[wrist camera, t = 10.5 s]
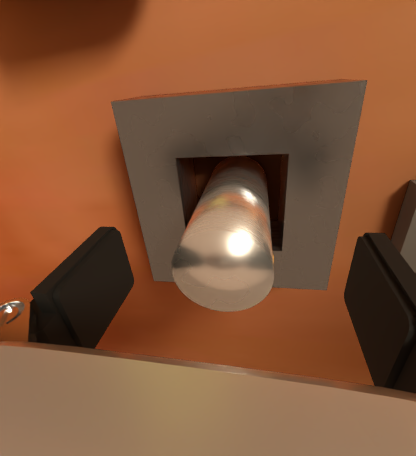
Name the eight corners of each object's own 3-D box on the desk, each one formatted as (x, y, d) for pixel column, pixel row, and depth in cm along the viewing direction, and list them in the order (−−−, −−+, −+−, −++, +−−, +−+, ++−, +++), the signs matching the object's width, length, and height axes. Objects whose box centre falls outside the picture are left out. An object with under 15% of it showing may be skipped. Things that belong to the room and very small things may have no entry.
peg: (267, 154, 17) (276, 231, 9) (265, 208, 19) (272, 315, 11) (208, 156, 18) (163, 229, 9) (212, 208, 20) (178, 308, 11)
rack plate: (341, 79, 14) (369, 80, 11) (315, 254, 20) (327, 293, 17) (140, 96, 17) (108, 102, 13) (169, 249, 23) (152, 283, 19)
